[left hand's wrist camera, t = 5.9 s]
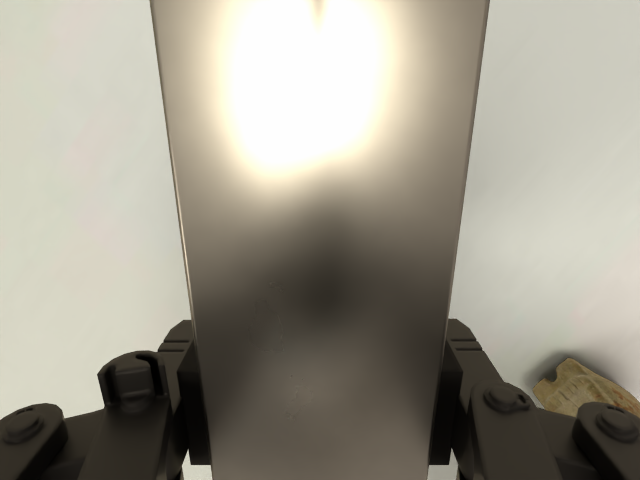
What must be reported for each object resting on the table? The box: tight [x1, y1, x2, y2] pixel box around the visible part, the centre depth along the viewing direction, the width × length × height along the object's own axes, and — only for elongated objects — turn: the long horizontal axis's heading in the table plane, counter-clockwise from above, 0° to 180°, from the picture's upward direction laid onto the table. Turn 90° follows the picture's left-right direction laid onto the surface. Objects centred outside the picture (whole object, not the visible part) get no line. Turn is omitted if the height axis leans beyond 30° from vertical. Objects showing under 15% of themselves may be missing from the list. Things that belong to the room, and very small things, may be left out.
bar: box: [150, 0, 490, 480], centre depth 9 cm, size 23×5×8 cm, turn 0°
